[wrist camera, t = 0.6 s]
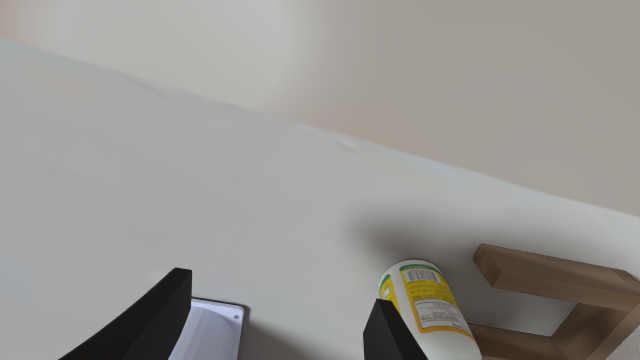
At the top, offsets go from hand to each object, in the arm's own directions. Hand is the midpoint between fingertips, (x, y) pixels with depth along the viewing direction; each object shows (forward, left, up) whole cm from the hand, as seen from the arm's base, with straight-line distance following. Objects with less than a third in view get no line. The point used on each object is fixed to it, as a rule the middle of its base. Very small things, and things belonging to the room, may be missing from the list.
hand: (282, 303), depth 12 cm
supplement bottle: (-7, -11, -11) cm, 16 cm away
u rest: (-7, -21, -10) cm, 24 cm away
